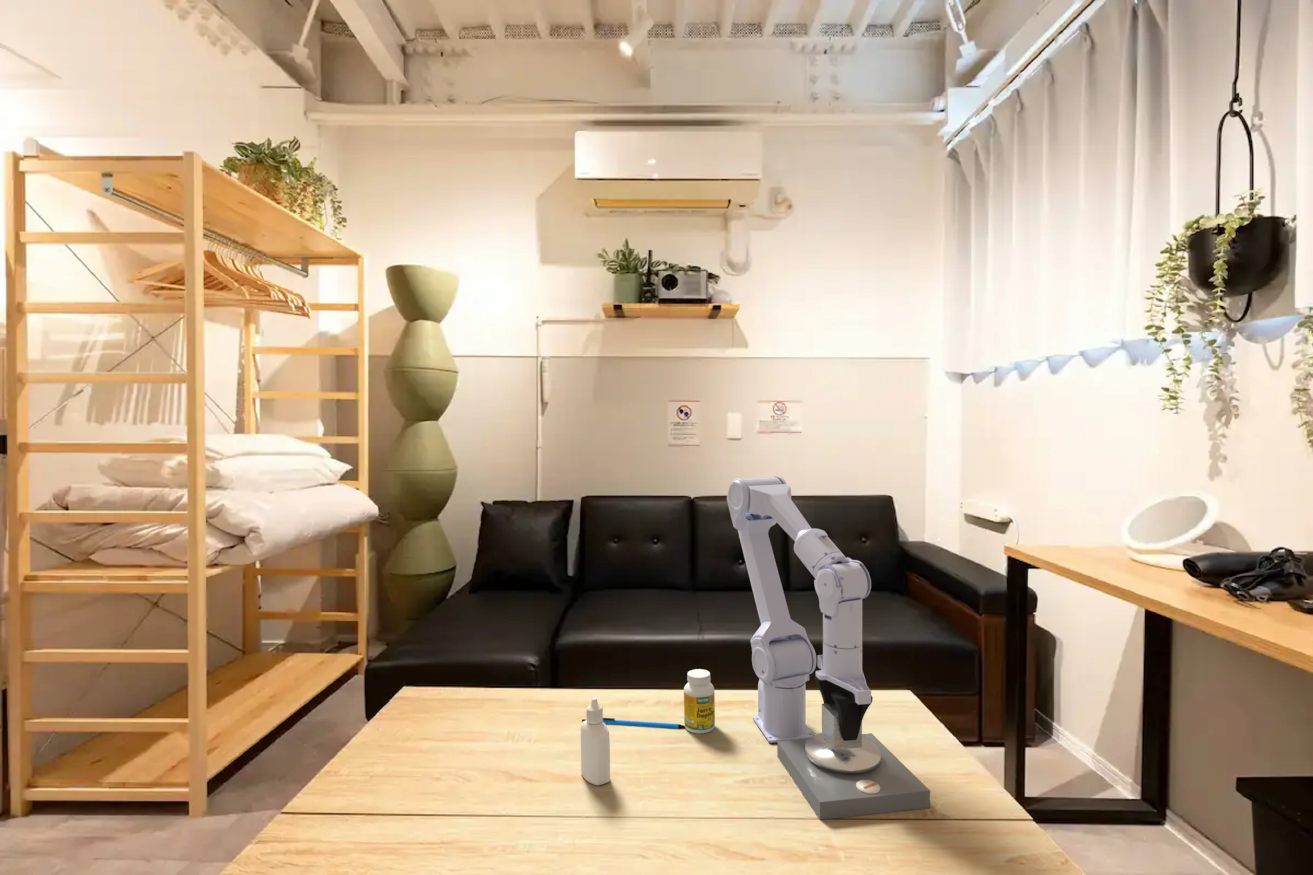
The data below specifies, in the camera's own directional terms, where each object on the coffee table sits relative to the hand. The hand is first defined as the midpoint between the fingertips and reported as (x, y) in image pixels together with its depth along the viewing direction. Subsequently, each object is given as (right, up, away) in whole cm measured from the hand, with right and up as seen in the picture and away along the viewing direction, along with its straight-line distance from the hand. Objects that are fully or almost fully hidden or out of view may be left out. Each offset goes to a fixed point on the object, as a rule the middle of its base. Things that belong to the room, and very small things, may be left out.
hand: (842, 731), depth 102 cm
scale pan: (0, -3, 0) cm, 4 cm away
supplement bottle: (-21, -6, +16) cm, 27 cm away
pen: (-32, -7, +17) cm, 37 cm away
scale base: (0, -7, -1) cm, 7 cm away
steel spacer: (0, -2, 0) cm, 2 cm away
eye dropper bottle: (-37, -7, 0) cm, 38 cm away
